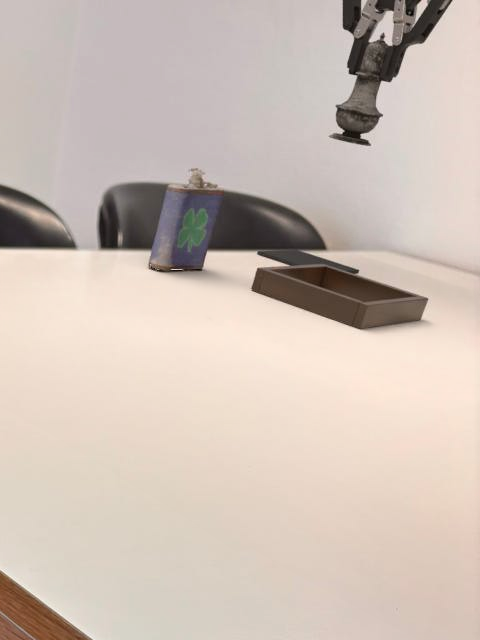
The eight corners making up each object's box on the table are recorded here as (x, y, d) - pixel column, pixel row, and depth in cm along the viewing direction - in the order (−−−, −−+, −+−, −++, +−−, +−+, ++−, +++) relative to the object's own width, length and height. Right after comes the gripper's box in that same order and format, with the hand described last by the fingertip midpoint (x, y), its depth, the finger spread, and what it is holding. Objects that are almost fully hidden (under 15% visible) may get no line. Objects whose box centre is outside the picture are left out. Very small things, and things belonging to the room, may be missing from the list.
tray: (316, 284, 131) (323, 263, 129) (420, 320, 123) (429, 298, 122) (250, 290, 120) (257, 267, 119) (359, 329, 113) (368, 305, 112)
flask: (159, 272, 120) (184, 170, 114) (139, 265, 122) (163, 164, 116) (208, 270, 126) (234, 173, 120) (188, 263, 128) (213, 167, 122)
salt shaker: (327, 138, 131) (360, 27, 125) (325, 134, 136) (357, 27, 130) (374, 148, 131) (411, 37, 124) (371, 144, 136) (405, 37, 129)
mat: (295, 252, 149) (296, 249, 148) (358, 273, 143) (359, 269, 143) (256, 254, 142) (257, 250, 142) (321, 275, 136) (322, 272, 136)
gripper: (493, -78, 120) (435, 91, 129) (381, -91, 127) (333, 70, 136) (467, -91, 115) (408, 86, 124) (351, -103, 122) (303, 65, 131)
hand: (369, 77), depth 130 cm, fingers closed on salt shaker, 3 cm apart
